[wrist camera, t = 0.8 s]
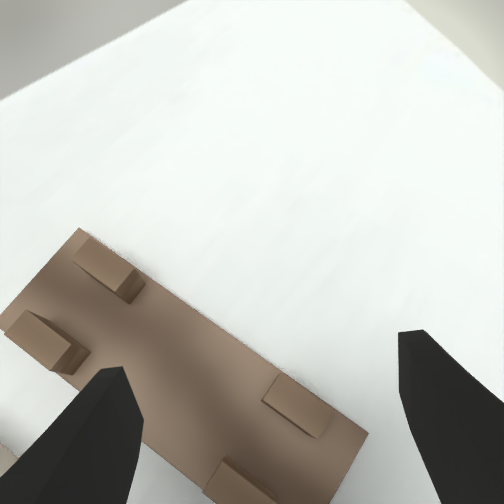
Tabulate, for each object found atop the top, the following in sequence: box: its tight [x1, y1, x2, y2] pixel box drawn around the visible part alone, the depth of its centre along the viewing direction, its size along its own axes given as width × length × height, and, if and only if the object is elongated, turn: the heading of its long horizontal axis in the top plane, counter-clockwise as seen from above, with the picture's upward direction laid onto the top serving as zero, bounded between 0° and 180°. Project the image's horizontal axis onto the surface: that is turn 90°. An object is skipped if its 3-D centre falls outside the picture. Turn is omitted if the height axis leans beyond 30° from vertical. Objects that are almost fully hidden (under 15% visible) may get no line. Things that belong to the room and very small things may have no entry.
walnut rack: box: [0, 228, 369, 504], centre depth 23 cm, size 7×20×4 cm, turn 55°
